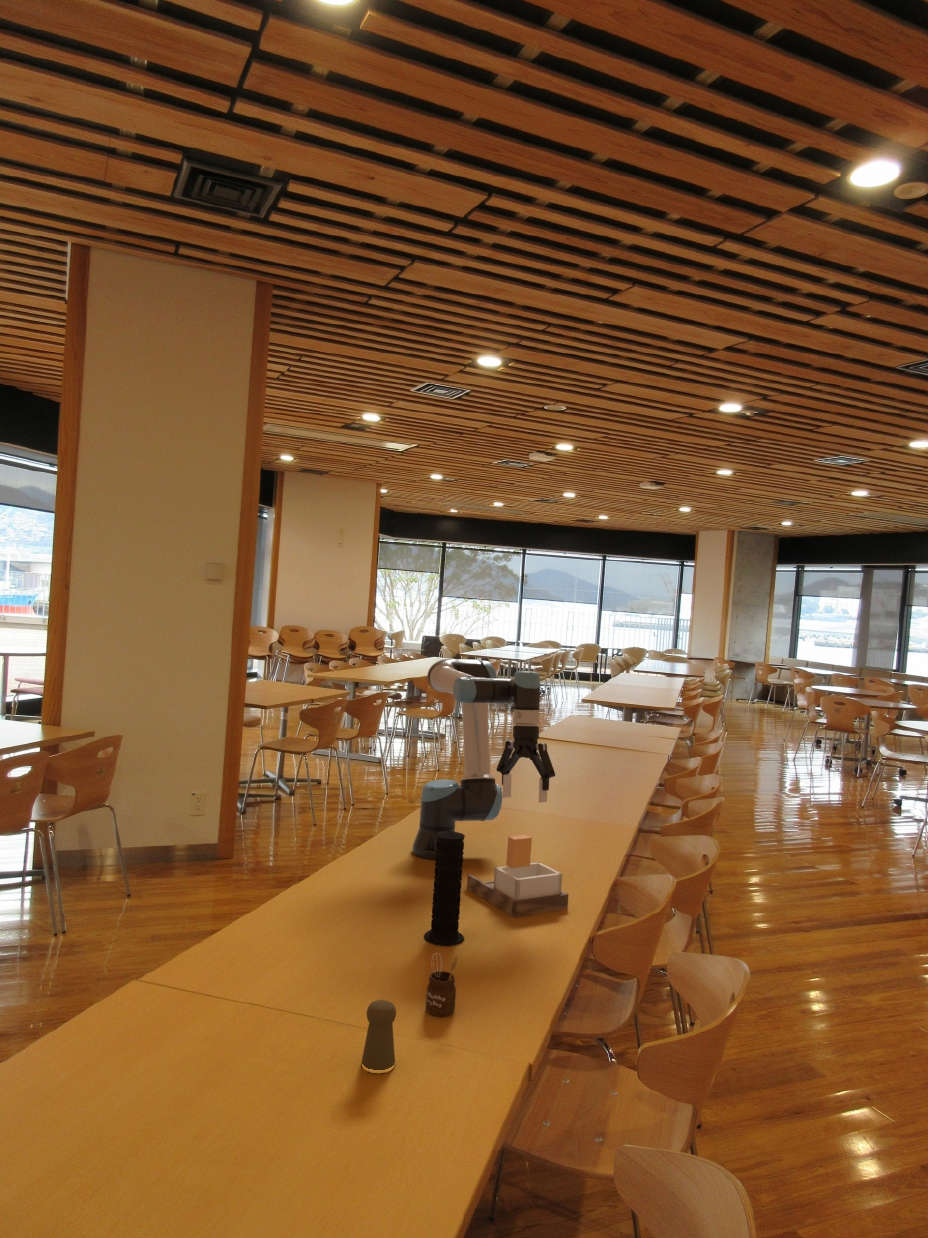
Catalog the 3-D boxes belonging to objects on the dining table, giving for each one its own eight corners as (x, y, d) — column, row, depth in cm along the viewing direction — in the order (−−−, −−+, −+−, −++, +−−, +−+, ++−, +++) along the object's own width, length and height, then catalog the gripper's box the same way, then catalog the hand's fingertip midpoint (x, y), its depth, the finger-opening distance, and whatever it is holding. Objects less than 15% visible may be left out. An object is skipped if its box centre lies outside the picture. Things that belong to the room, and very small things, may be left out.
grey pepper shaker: (361, 1055, 155) (365, 995, 155) (395, 1056, 155) (399, 996, 155) (360, 1074, 149) (364, 1011, 149) (395, 1074, 149) (399, 1012, 149)
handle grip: (419, 943, 207) (459, 949, 205) (426, 833, 206) (467, 838, 204) (429, 927, 217) (468, 933, 215) (435, 823, 216) (475, 828, 214)
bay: (466, 888, 248) (467, 874, 248) (518, 881, 257) (518, 868, 257) (513, 917, 227) (514, 902, 227) (567, 909, 237) (568, 894, 237)
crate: (491, 895, 240) (494, 838, 239) (534, 888, 247) (538, 833, 247) (515, 909, 229) (519, 850, 229) (560, 902, 237) (564, 845, 237)
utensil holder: (438, 1000, 178) (442, 943, 178) (461, 1011, 174) (465, 952, 174) (419, 1010, 173) (423, 951, 173) (442, 1021, 169) (446, 961, 169)
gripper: (485, 723, 254) (484, 796, 253) (551, 727, 237) (550, 805, 235) (503, 723, 260) (501, 794, 258) (568, 727, 242) (567, 803, 240)
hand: (524, 799), depth 246 cm, fingers open, 13 cm apart
